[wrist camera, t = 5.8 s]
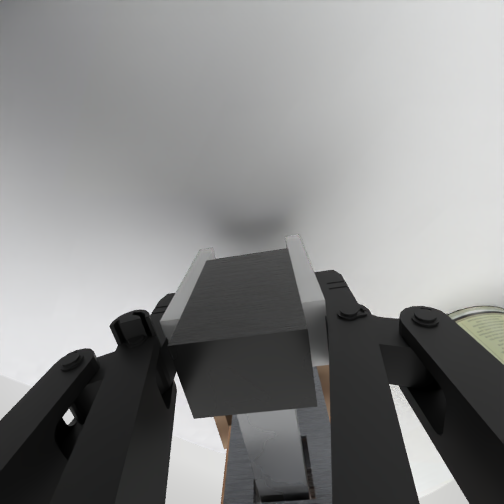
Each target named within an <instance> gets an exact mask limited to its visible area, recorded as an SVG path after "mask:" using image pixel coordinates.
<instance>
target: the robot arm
mask: <svg viewBox="0 0 504 504" xmlns="http://www.w3.org/2000/svg"><path fill="white" fill-rule="evenodd" d="M285 239H286V246H287V248H288V250H289V254H290V258H291V262H292V266H293V270H294V275H295V279H296V283H297V287H298V291H299V295H300V299H301V303H302V307H303V311H304V315H305V320H306V324H307V328H308V335H309V343H310V351H311V359H312V367H314V366H323V365H329V381H330V426H331V471H332V504H419V500H418V496H417V492H416V488H415V484H414V480H413V476H412V472H411V468H410V465H409V461H408V457H407V453H406V449H405V445H404V441H403V437H402V433H401V429H400V425H399V421H398V417H397V413H396V410H395V406H394V402H393V398H392V394H391V390H390V386H389V384H393V385H399V387H400V389H401V391H402V392H403V394H404V396H405V397H406V399H407V401H408V402H409V404H410V406H411V407H412V409H413V411H414V412H415V414H416V416H417V417H418V419H419V421H420V422H421V424H422V426H423V427H424V429H425V430H426V432H427V434H428V435H429V437H430V439H431V440H432V442H433V444H434V445H435V447H436V449H437V450H438V452H439V454H440V455H441V457H442V459H443V460H444V462H445V464H446V465H447V467H448V469H449V470H450V472H451V474H452V475H453V477H454V479H455V480H456V482H457V484H458V485H459V487H460V489H461V490H462V492H463V493H464V495H465V497H466V499H467V500H468V502H469V504H504V364H502V363H501V362H500V361H499V360H498V359H497V358H496V357H494V356H493V355H492V354H491V353H490V352H489V351H488V350H487V349H485V348H484V347H483V346H482V345H481V344H480V343H479V342H477V341H476V340H475V339H474V338H473V337H472V336H471V335H470V334H468V333H467V332H466V331H465V330H464V329H463V328H462V327H461V326H459V325H458V324H457V323H456V322H455V321H454V320H453V319H451V318H450V317H449V316H448V315H446V314H445V313H443V312H442V311H440V310H437V309H434V308H431V307H425V306H412V307H409V308H405V309H404V310H403V311H402V312H401V313H400V317H399V319H394V318H383V317H377V316H374V315H371V313H370V311H369V309H368V308H366V307H365V306H363V305H360V304H358V303H357V301H356V299H355V297H354V296H353V294H352V292H351V291H350V289H349V287H348V286H347V284H346V282H345V280H344V279H343V277H342V275H341V274H339V273H338V272H336V271H334V270H328V271H321V272H314V271H313V268H312V266H311V263H310V261H309V258H308V255H307V253H306V250H305V248H304V245H303V243H302V240H301V238H300V235H299V234H298V235H292V236H285ZM214 259H216V258H215V254H214V250H213V248H208V249H201V250H199V252H198V254H197V256H196V258H195V259H194V261H193V263H192V265H191V266H190V268H189V270H188V272H187V274H186V275H185V277H184V279H183V281H182V283H181V284H180V286H179V288H178V290H177V291H176V293H171V294H167V295H166V296H165V297H163V298H162V299H161V300H160V301H159V302H158V304H157V306H156V307H155V309H154V310H153V312H152V314H151V315H149V312H147V311H146V310H134V311H131V312H128V313H125V314H123V315H121V316H120V317H118V318H117V319H115V320H114V321H113V322H112V323H111V324H110V329H111V331H112V333H113V335H114V337H115V340H116V342H117V344H118V346H117V349H116V351H115V352H112V353H109V354H106V355H103V356H100V357H96V355H95V353H94V351H93V350H91V349H86V348H85V349H80V350H76V351H73V352H71V353H69V354H67V355H66V356H64V357H63V358H61V359H60V360H59V361H58V362H57V363H55V364H54V365H53V366H52V367H51V368H50V369H49V370H48V372H47V373H46V374H45V375H44V376H43V377H42V378H41V379H40V380H39V381H38V382H37V383H36V384H35V385H34V386H33V387H32V388H31V389H30V390H29V391H28V392H27V394H25V396H24V397H23V398H22V399H21V400H20V401H19V402H18V403H17V404H16V405H15V406H14V407H13V408H12V409H11V410H10V411H9V412H8V413H7V414H6V415H5V416H4V417H3V418H2V419H1V421H0V504H165V498H166V488H167V479H168V468H169V460H170V450H171V441H172V431H173V422H174V412H175V403H176V393H177V389H176V384H175V382H174V377H175V374H176V368H175V366H174V363H173V360H172V357H171V355H170V352H169V349H168V347H167V346H168V343H169V341H170V339H171V337H172V335H173V333H174V330H175V328H176V326H177V324H178V322H179V319H180V317H181V315H182V313H183V311H184V308H185V306H186V304H187V302H188V300H189V298H190V295H191V293H192V291H193V289H194V287H195V284H196V282H197V280H198V278H199V276H200V273H201V271H202V269H203V267H204V265H205V263H206V261H207V260H214ZM68 409H70V410H71V412H72V414H73V416H74V417H75V418H74V419H73V420H72V422H71V423H70V424H69V425H67V424H66V423H65V421H64V420H63V418H62V417H63V416H64V414H65V413H66V412H67V410H68Z"/></svg>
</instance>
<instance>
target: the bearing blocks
mask: <svg viewBox="0 0 504 504" xmlns="http://www.w3.org/2000/svg"><path fill="white" fill-rule="evenodd" d="M313 375H314V383H315V391H316V399H317V407H309V408H299V409H296V410H297V416H298V422H299V428H300V434H301V440H302V446H303V452H304V458H305V464H306V470H307V476H308V482H309V488H310V494H311V500H297V501H281V502H266V503H261V499H260V496H259V492H258V489H257V485H256V482H255V478H254V475H253V471H252V467H251V464H250V460H249V457H248V453H247V450H246V446H245V443H244V439H243V436H242V432H241V429H240V425H239V421H238V418H237V415H232V424H231V433H230V443H229V452H228V461H227V471H226V480H225V490H224V499H223V504H332V471H331V426H330V420H329V416H328V411H327V407H326V403H325V399H324V395H323V391H322V387H321V383H320V378H319V374H318V370H317V366H314V367H313Z"/></svg>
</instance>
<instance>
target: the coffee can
mask: <svg viewBox="0 0 504 504" xmlns="http://www.w3.org/2000/svg"><path fill="white" fill-rule="evenodd" d="M448 316H449V317H450V318H451V319H453V320H454V321H455V322H456V323H457V324H458V325H459V326H461V327H462V328H463V329H464V330H465V331H466V332H467V333H468V334H470V335H471V336H472V337H473V338H474V339H475V340H476V341H477V342H479V343H480V344H481V345H482V346H483V347H484V348H485V349H487V350H488V351H489V352H490V353H491V354H492V355H493V356H494V357H496V358H497V359H498V360H499V361H500V362H501V363H502V364H504V309H502V308H498V307H491V306H481V307H472V308H467V309H463V310H460V311H457V312H454V313H451V314H449V315H448Z"/></svg>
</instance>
